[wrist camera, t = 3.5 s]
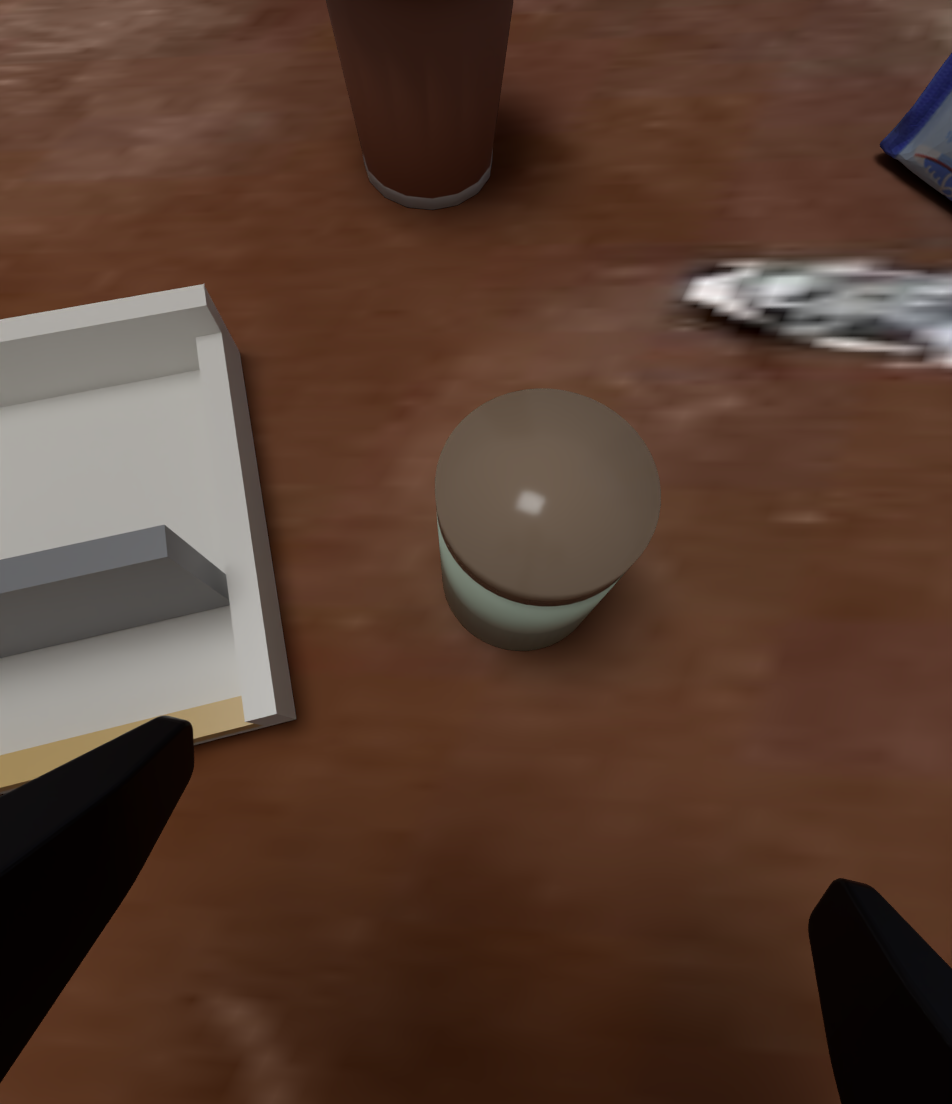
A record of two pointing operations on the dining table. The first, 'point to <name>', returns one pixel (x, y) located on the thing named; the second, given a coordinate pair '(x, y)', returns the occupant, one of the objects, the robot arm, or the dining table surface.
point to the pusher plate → (103, 588)
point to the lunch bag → (927, 134)
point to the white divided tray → (135, 522)
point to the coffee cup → (424, 92)
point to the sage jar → (540, 514)
